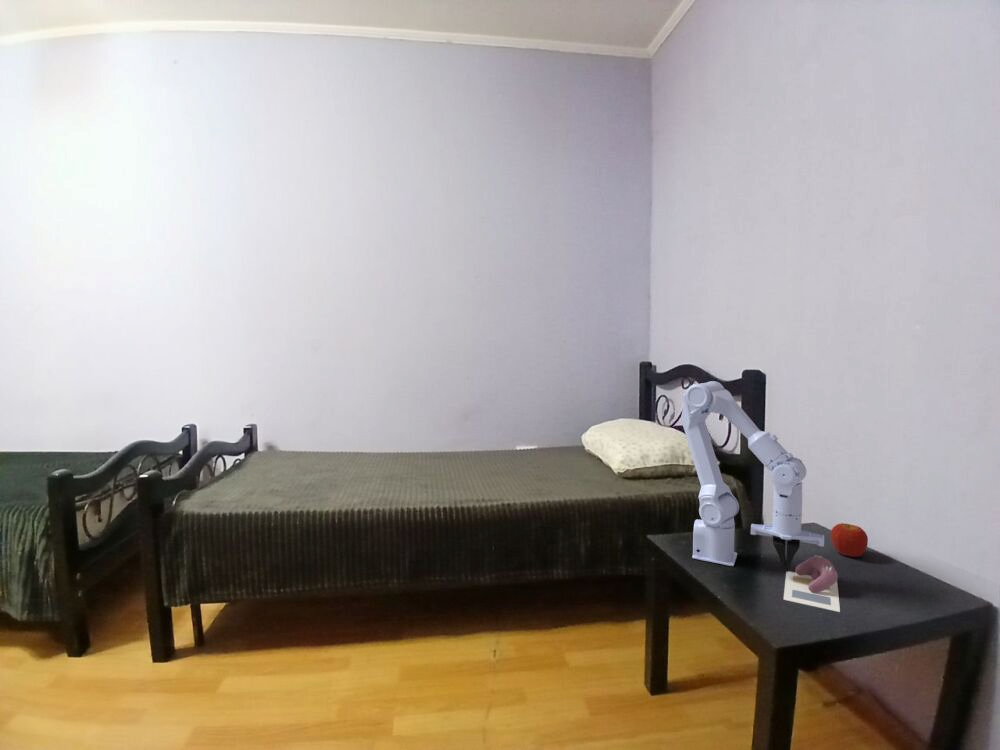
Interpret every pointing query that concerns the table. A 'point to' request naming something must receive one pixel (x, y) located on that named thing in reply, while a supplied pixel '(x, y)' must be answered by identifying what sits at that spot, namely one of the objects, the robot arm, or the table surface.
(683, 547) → the table surface
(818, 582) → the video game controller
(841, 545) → the apple
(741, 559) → the table surface
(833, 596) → the label card
